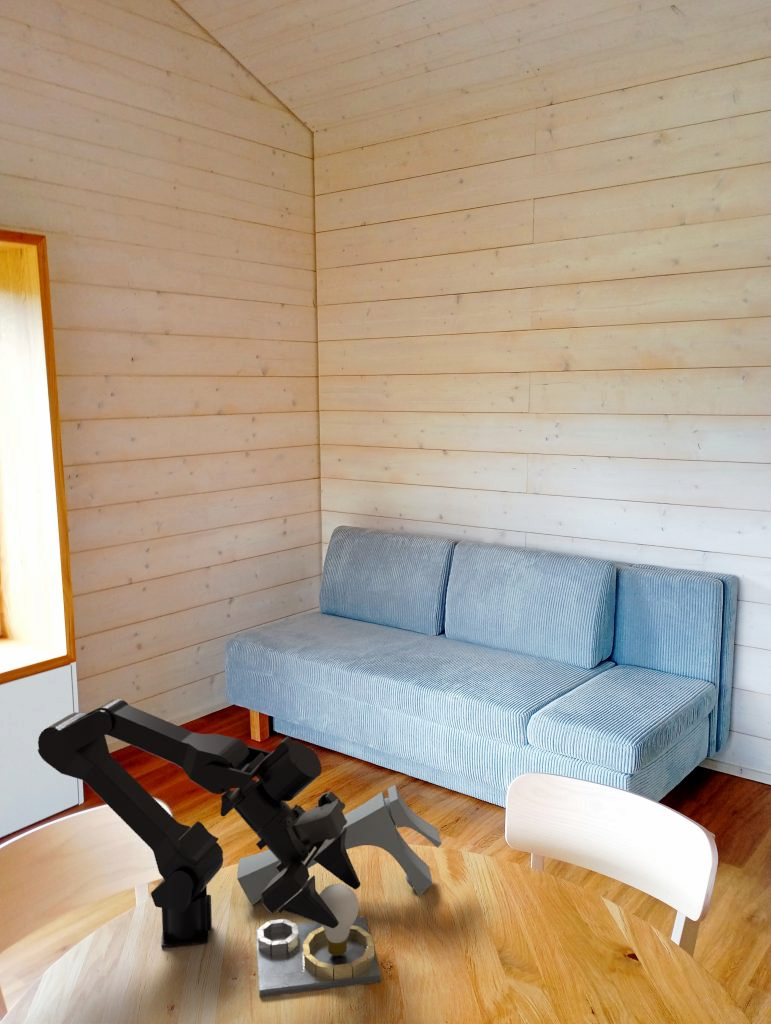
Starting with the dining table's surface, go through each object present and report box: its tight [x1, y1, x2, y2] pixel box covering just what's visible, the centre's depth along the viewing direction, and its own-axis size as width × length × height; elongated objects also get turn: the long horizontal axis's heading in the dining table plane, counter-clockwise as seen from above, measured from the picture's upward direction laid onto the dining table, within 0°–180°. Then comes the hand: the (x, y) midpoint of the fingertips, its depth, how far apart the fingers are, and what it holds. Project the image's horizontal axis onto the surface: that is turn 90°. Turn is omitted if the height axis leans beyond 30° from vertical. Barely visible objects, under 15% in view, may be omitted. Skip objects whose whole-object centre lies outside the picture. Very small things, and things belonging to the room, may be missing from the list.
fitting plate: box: [255, 915, 382, 998], centre depth 118 cm, size 16×13×2 cm
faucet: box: [236, 784, 442, 906], centre depth 134 cm, size 6×17×30 cm
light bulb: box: [318, 883, 360, 956], centre depth 117 cm, size 6×6×10 cm
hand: (347, 906), depth 116 cm, fingers open, 9 cm apart
